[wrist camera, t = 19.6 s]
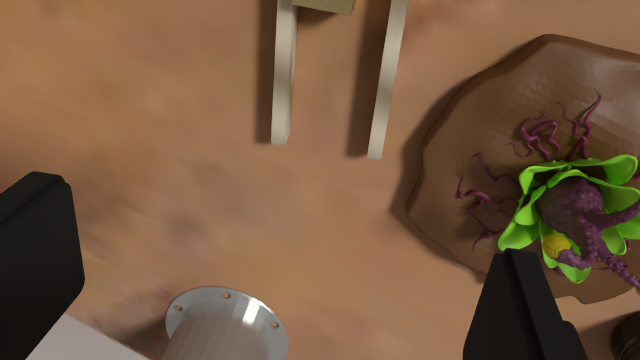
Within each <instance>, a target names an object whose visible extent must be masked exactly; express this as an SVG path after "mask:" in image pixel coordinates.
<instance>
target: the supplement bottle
mask: <svg viewBox="0 0 640 360" xmlns="http://www.w3.org/2000/svg"><path fill="white" fill-rule="evenodd" d="M610 348H611V352H612V355H613V357H614V359H615V360H640V313H639V314H636V315H634V316H632V317H630V318H628V319H626V320H625V321H623V322H622V323H621V324H620V325H619V326H618V327H617V328H616V329H615V331H614V332H613V334H612V337H611V341H610Z"/></svg>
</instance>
